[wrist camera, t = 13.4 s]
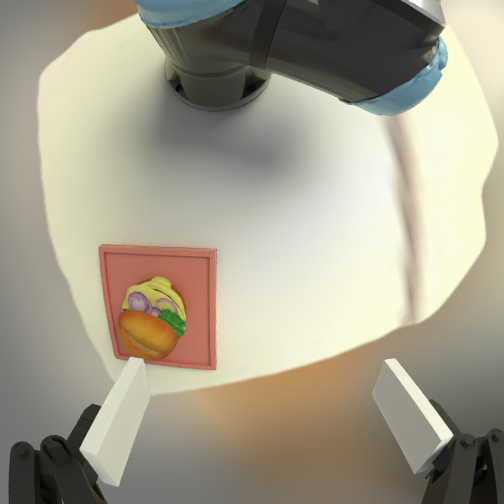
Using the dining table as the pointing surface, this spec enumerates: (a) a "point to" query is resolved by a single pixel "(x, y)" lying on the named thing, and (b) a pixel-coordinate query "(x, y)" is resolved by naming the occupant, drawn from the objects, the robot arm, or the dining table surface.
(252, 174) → the dining table surface
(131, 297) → the cheeseburger
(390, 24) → the robot arm
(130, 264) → the tray
